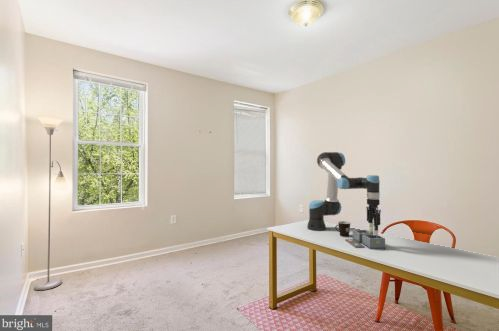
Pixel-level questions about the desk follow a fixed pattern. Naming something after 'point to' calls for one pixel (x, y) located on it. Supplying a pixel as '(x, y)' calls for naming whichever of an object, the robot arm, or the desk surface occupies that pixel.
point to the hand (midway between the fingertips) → (373, 233)
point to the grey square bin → (359, 235)
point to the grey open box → (373, 241)
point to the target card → (354, 243)
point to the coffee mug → (343, 228)
